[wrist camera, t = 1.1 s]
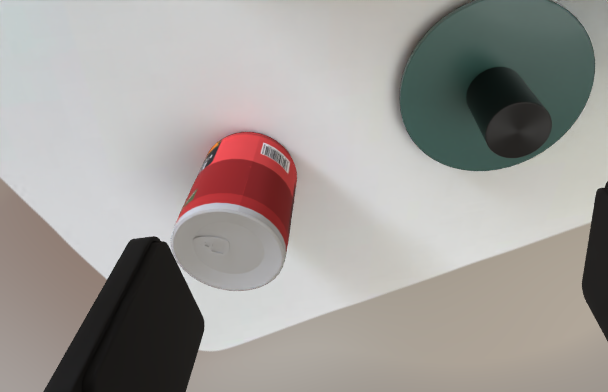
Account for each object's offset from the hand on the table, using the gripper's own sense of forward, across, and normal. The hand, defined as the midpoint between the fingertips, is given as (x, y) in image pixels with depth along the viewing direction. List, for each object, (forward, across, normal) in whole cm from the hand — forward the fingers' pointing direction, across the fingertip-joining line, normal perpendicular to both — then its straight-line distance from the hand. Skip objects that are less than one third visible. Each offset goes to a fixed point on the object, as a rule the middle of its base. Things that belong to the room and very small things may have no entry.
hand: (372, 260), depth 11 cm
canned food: (+27, +11, +13) cm, 32 cm away
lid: (+26, -9, +9) cm, 29 cm away
